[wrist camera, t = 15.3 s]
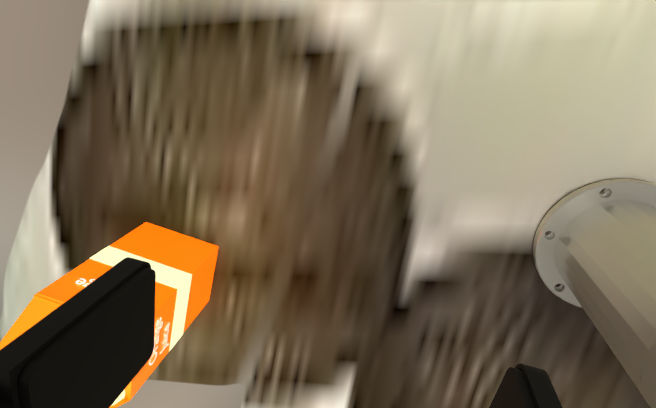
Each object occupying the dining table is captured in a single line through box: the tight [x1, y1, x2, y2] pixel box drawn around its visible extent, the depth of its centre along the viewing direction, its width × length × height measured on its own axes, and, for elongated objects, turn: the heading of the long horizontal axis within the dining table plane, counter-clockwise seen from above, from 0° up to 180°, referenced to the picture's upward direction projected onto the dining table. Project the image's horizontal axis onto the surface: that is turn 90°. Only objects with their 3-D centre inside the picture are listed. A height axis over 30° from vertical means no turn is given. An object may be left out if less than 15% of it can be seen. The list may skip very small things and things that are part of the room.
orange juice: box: [0, 222, 219, 408], centre depth 36 cm, size 8×9×20 cm
